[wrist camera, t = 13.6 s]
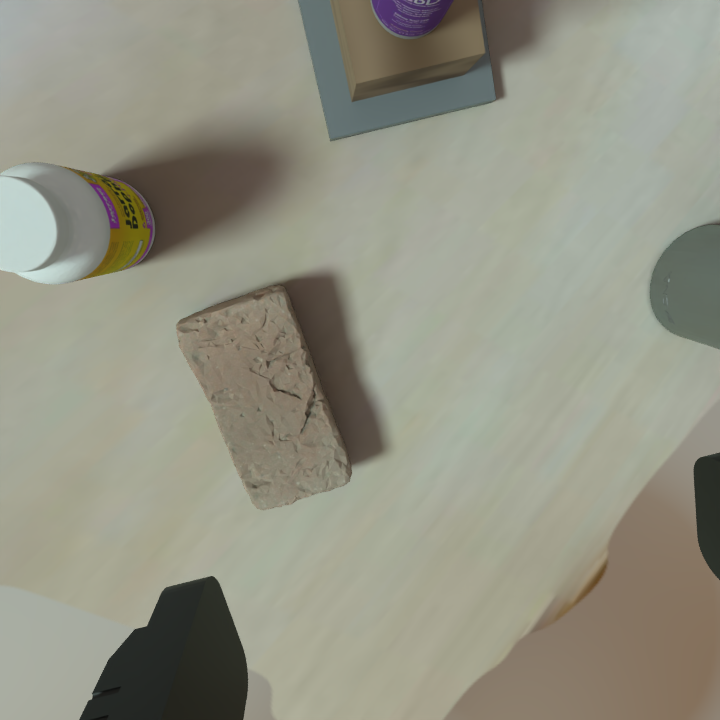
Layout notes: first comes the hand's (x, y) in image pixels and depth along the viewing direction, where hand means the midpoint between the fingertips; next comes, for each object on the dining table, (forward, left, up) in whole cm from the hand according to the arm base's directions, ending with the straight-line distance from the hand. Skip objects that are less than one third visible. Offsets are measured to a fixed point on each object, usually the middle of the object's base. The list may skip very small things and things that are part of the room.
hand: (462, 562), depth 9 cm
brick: (+8, +6, -34) cm, 35 cm away
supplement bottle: (+16, -9, -33) cm, 38 cm away
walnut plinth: (-7, -17, -33) cm, 38 cm away
